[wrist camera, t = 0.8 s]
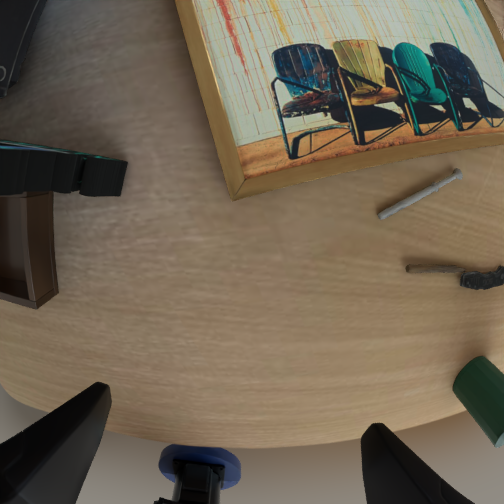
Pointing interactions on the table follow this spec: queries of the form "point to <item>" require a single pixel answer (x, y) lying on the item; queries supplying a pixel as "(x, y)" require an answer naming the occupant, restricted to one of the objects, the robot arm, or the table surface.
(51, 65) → the table surface
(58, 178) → the decorative sign
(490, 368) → the stoneware bottle
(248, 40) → the picture frame
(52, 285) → the brown wooden square tray
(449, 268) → the stick
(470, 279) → the folding knife
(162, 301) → the table surface
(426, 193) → the wall anchor
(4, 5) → the camera
